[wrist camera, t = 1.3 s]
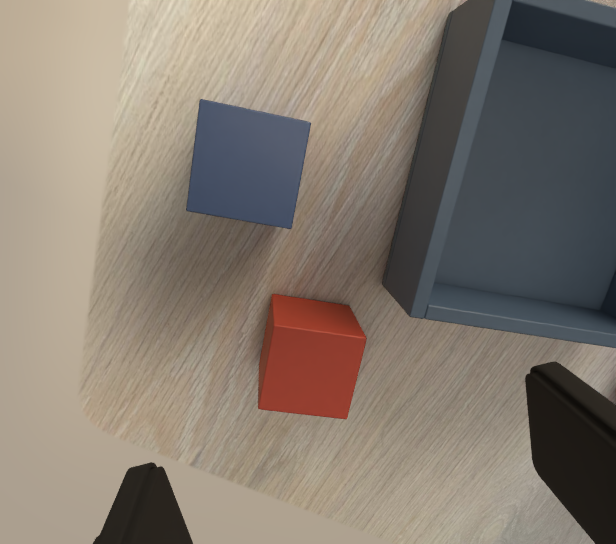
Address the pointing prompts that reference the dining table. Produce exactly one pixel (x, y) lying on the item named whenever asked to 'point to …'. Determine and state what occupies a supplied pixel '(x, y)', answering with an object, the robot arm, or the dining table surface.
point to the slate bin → (515, 175)
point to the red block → (309, 357)
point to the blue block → (246, 164)
